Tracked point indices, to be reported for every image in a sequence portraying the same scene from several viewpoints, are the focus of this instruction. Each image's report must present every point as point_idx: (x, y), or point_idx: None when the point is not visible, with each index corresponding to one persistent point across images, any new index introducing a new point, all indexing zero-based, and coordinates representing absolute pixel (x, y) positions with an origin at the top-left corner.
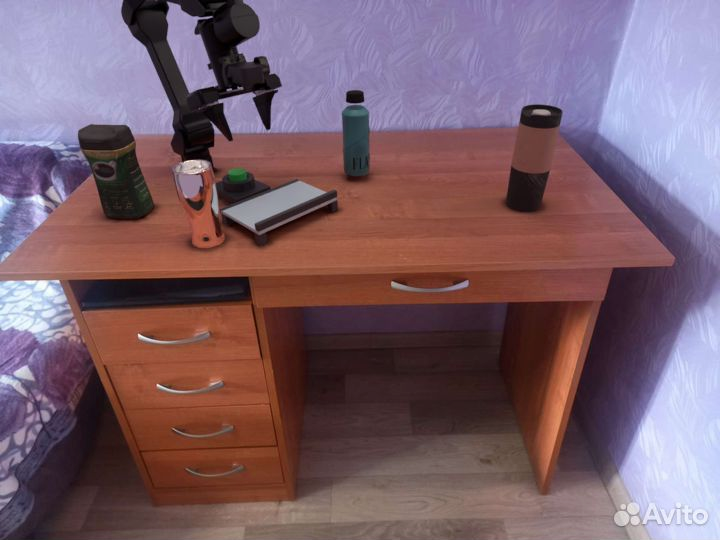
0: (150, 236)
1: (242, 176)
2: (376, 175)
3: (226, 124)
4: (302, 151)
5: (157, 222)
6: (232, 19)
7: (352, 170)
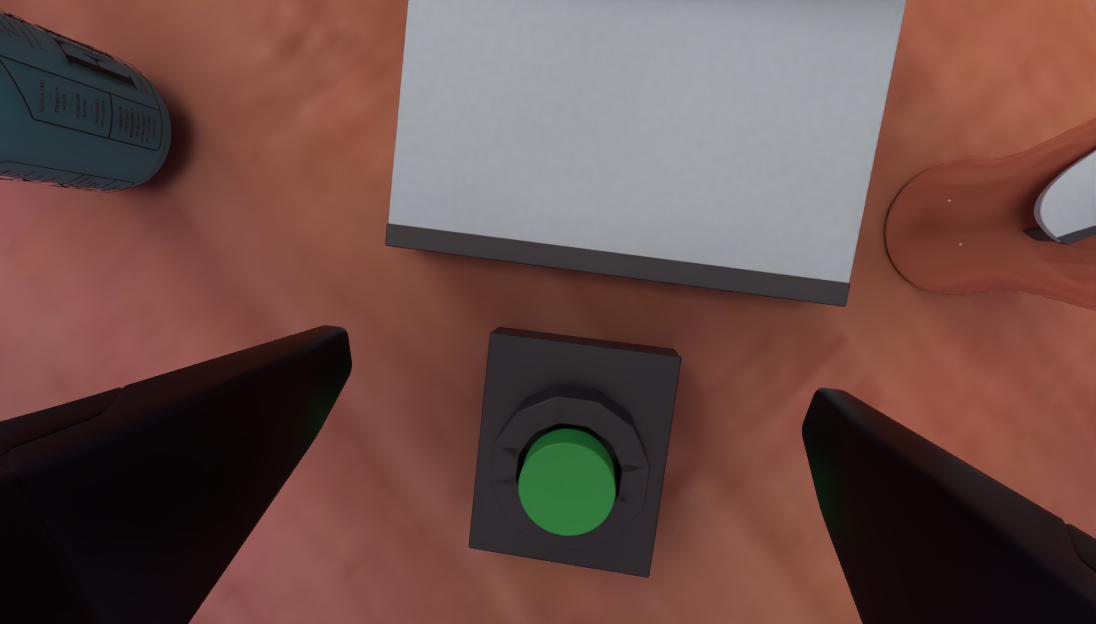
0: (1061, 455)
1: (574, 438)
2: None
3: (989, 503)
4: None
5: None
6: None
7: (142, 95)
